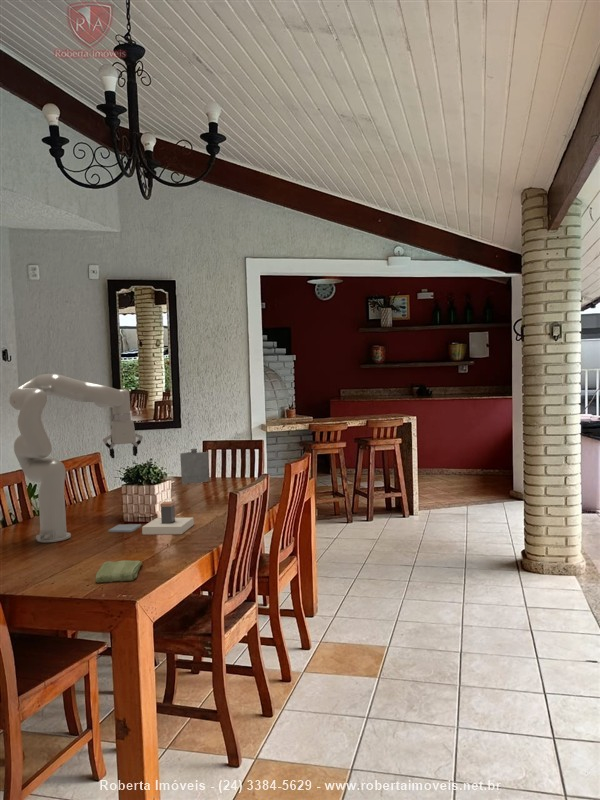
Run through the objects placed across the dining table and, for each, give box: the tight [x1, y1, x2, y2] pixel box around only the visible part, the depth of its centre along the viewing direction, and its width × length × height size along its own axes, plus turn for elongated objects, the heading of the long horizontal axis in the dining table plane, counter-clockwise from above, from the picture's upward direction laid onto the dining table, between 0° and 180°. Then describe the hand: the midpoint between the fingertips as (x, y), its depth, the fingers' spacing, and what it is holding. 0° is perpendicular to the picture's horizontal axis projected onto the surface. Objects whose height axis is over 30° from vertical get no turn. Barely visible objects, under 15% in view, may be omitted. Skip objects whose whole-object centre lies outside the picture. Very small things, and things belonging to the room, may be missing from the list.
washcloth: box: [94, 559, 143, 584], centre depth 210 cm, size 13×18×3 cm
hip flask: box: [179, 448, 211, 485], centre depth 380 cm, size 16×4×20 cm, turn 92°
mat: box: [107, 523, 142, 533], centre depth 272 cm, size 10×10×1 cm
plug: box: [159, 500, 176, 524], centre depth 268 cm, size 4×4×11 cm
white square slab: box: [141, 517, 195, 536], centre depth 268 cm, size 16×16×3 cm
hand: (123, 456), depth 290 cm, fingers open, 9 cm apart
